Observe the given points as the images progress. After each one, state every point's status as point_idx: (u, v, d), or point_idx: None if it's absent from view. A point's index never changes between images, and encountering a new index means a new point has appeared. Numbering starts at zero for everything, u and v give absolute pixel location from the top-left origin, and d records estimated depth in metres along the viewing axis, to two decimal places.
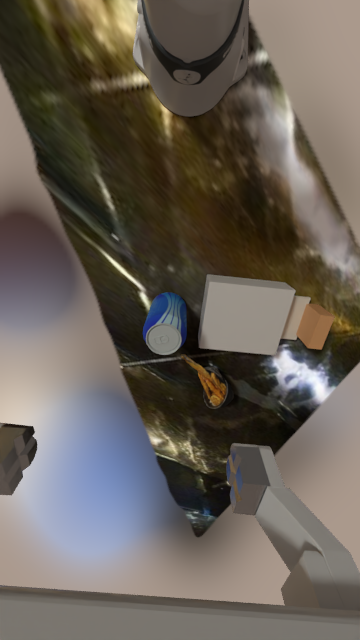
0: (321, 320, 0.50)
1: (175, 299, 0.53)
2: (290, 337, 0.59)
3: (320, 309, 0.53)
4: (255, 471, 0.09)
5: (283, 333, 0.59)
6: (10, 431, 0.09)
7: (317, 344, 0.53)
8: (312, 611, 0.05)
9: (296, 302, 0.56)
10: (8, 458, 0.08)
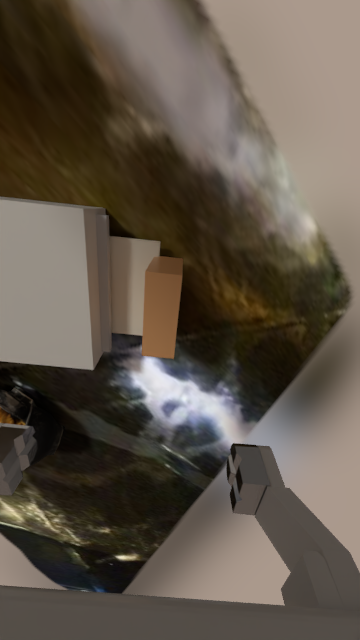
0: (152, 286, 0.20)
1: None
2: (140, 331, 0.29)
3: (173, 263, 0.23)
4: (254, 471, 0.09)
5: (124, 323, 0.28)
6: (10, 431, 0.09)
7: (160, 346, 0.22)
8: (312, 611, 0.05)
9: (132, 254, 0.25)
10: (8, 458, 0.08)
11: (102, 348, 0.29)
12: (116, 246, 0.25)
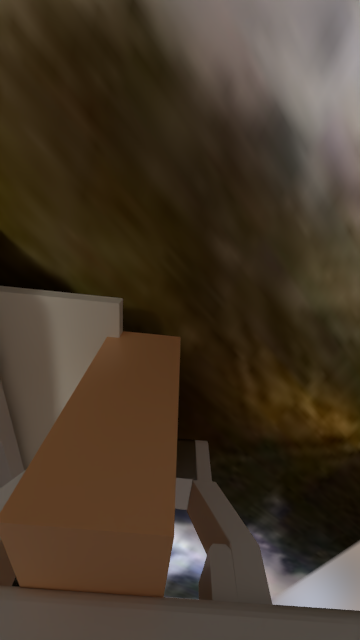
0: (40, 558, 0.05)
1: None
2: None
3: (149, 381, 0.08)
4: (184, 465, 0.08)
5: None
6: None
7: None
8: (312, 611, 0.05)
9: (50, 330, 0.10)
10: None
11: None
12: (7, 313, 0.09)
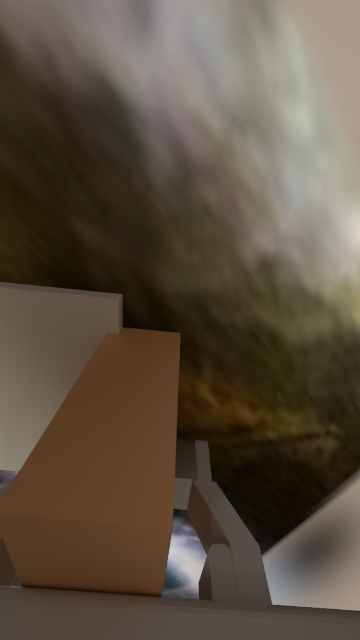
0: (39, 550, 0.05)
1: None
2: None
3: (148, 376, 0.08)
4: (184, 465, 0.08)
5: None
6: None
7: None
8: (312, 611, 0.05)
9: (50, 326, 0.10)
10: None
11: None
12: (6, 309, 0.09)
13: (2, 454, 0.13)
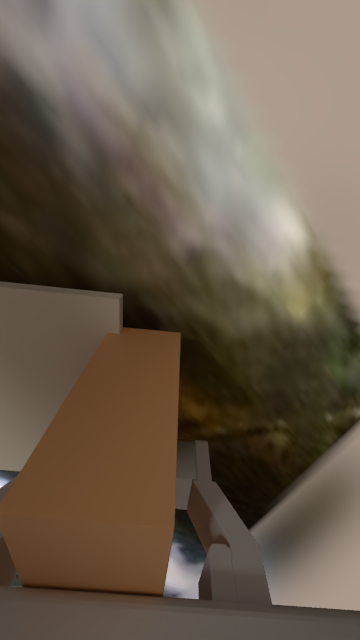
0: (40, 551, 0.04)
1: None
2: None
3: (149, 376, 0.08)
4: (184, 465, 0.08)
5: None
6: None
7: None
8: (312, 611, 0.05)
9: (49, 326, 0.10)
10: None
11: None
12: (6, 308, 0.09)
13: (1, 454, 0.13)
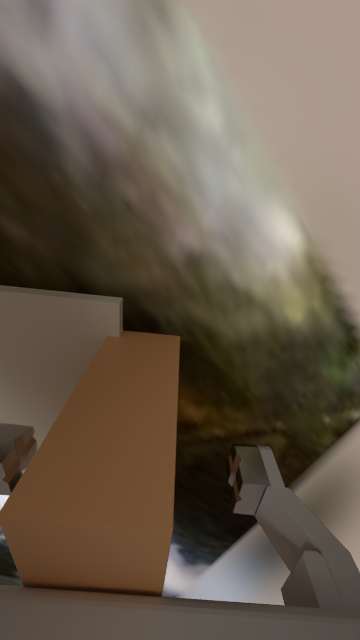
0: (42, 552, 0.05)
1: None
2: None
3: (148, 380, 0.08)
4: (255, 471, 0.09)
5: None
6: (10, 431, 0.09)
7: None
8: (312, 611, 0.05)
9: (50, 330, 0.10)
10: (8, 458, 0.08)
11: None
12: (7, 312, 0.10)
13: None
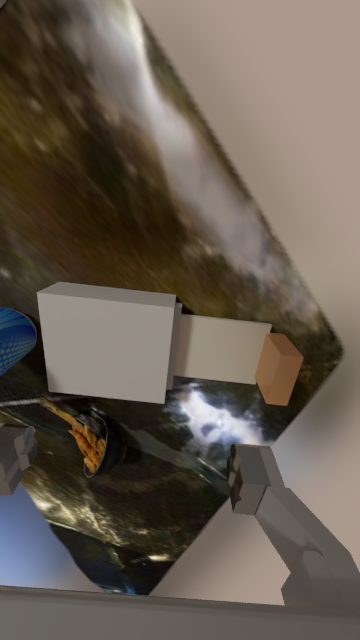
0: (283, 362, 0.32)
1: None
2: (246, 380, 0.41)
3: (285, 342, 0.35)
4: (254, 471, 0.09)
5: (236, 375, 0.40)
6: (10, 431, 0.09)
7: (280, 397, 0.34)
8: (312, 611, 0.05)
9: (251, 332, 0.37)
10: (8, 458, 0.08)
11: (166, 387, 0.40)
12: (241, 327, 0.37)
13: (219, 373, 0.40)
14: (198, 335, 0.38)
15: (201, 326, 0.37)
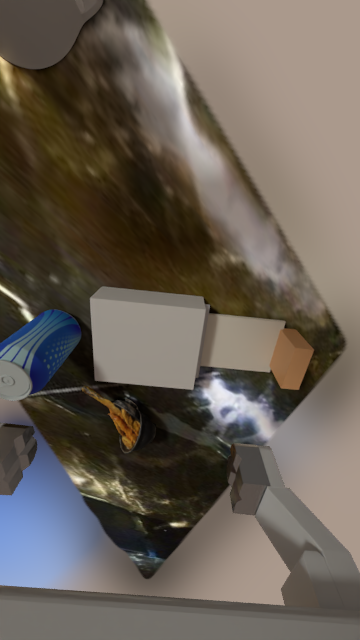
0: (297, 354, 0.38)
1: (53, 320, 0.40)
2: (262, 369, 0.47)
3: (297, 337, 0.41)
4: (255, 471, 0.09)
5: (253, 364, 0.47)
6: (10, 431, 0.09)
7: (293, 383, 0.41)
8: (312, 611, 0.05)
9: (268, 328, 0.43)
10: (8, 458, 0.08)
11: None
12: (260, 324, 0.43)
13: (239, 363, 0.47)
14: (222, 331, 0.44)
15: (224, 323, 0.43)
